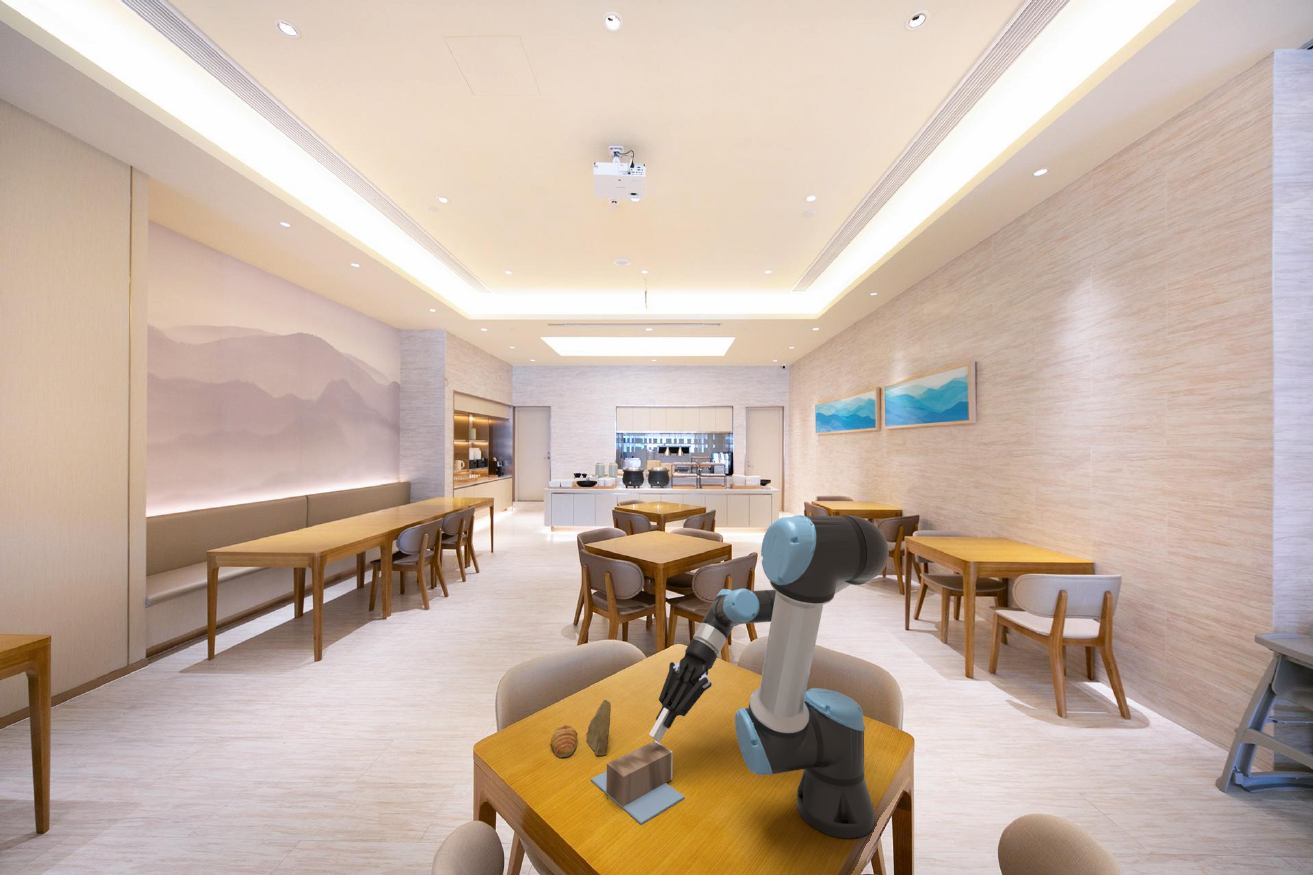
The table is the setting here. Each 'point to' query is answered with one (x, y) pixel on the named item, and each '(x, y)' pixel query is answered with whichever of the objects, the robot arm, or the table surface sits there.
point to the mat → (645, 800)
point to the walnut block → (639, 772)
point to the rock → (600, 729)
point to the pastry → (564, 741)
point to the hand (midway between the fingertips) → (654, 738)
